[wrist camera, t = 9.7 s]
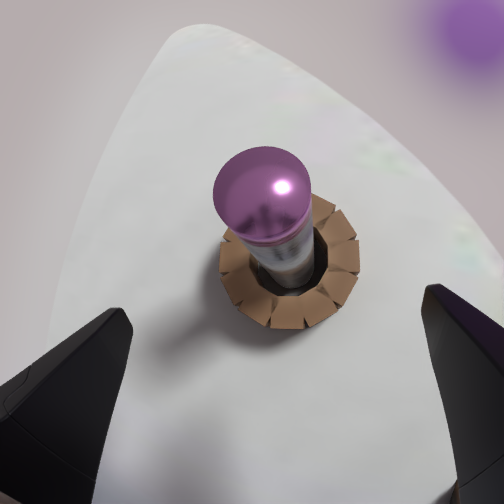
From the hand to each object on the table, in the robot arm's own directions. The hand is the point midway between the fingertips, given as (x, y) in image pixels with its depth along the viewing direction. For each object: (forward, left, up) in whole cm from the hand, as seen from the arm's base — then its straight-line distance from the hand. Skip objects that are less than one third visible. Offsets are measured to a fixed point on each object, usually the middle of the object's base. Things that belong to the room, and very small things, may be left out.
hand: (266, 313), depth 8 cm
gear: (+4, -2, -13) cm, 14 cm away
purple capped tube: (+4, -2, -13) cm, 14 cm away
